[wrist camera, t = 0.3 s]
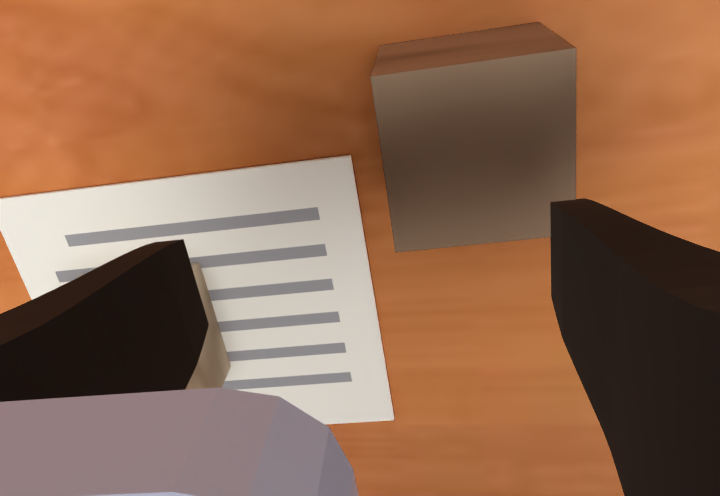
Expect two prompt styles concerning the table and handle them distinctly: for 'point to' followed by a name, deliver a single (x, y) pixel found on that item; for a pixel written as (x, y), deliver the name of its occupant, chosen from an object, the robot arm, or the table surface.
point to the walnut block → (476, 134)
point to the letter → (239, 270)
